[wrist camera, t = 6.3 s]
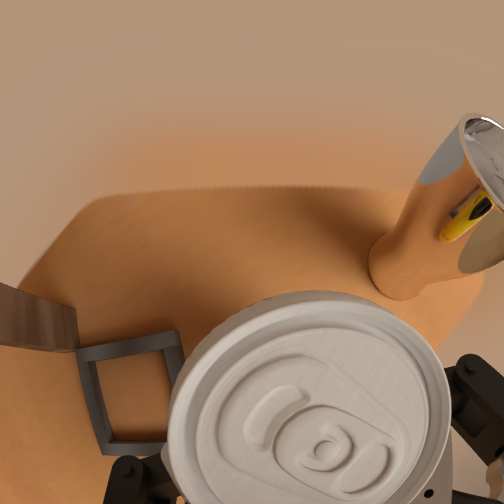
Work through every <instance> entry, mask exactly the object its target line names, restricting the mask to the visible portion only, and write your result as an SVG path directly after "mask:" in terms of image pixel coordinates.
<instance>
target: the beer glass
mask: <svg viewBox="0 0 504 504" xmlns="http://www.w3.org/2000/svg"><path fill="white" fill-rule="evenodd" d="M503 260H504V126H502V125H501V124H500V123H498V122H497V121H495V120H493V119H492V118H490V117H487V116H485V115H482V114H478V113H468V114H465V115H464V116H463V117H462V118H461V119H460V121H459V123H458V124H457V126H456V127H455V128H454V130H453V131H452V132H451V133H450V134H449V136H448V137H447V138H446V140H445V141H444V142H443V143H442V144H441V146H440V147H439V148H438V149H437V151H436V152H435V153H434V155H433V156H432V157H431V159H430V160H429V161H428V163H427V164H426V166H425V167H424V169H423V170H422V172H421V174H420V175H419V177H418V178H417V180H416V182H415V184H414V186H413V188H412V190H411V192H410V194H409V196H408V198H407V200H406V203H405V205H404V207H403V210H402V212H401V214H400V217H399V219H398V221H397V223H396V225H395V227H394V228H393V229H392V230H391V231H389V232H388V233H386V234H384V235H383V236H381V237H380V238H379V239H378V240H377V241H376V242H375V243H374V244H373V246H372V248H371V250H370V253H369V258H368V268H369V273H370V276H371V279H372V281H373V283H374V284H375V286H376V287H377V288H378V290H379V291H380V292H381V293H383V294H384V295H385V296H387V297H389V298H391V299H394V300H399V301H404V300H409V299H412V298H414V297H416V296H417V295H419V294H420V293H421V292H422V291H423V290H424V289H425V288H426V287H427V286H428V285H430V284H432V283H436V282H442V281H448V280H453V279H459V278H463V277H467V276H470V275H474V274H477V273H480V272H482V271H484V270H486V269H488V268H491V267H492V266H495V265H496V264H498V263H499V262H501V261H503Z"/></svg>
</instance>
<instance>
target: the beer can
mask: <svg viewBox="0 0 504 504" xmlns="http://www.w3.org/2000/svg"><path fill="white" fill-rule="evenodd" d="M450 422H451V396H450V389H449V384H448V381H447V377H446V374H445V371H444V369H443V366H442V364H441V362H440V360H439V358H438V357H437V355H436V353H435V352H434V350H433V348H432V347H431V346H430V345H429V343H428V342H427V341H426V340H425V338H424V337H423V336H422V335H421V334H419V333H418V332H417V331H416V330H415V329H414V328H413V327H412V326H410V325H409V324H407V323H406V322H405V321H403V320H402V319H400V318H398V317H397V316H395V315H394V314H393V313H391V312H390V311H388V310H387V309H385V308H383V307H381V306H380V305H378V304H376V303H374V302H371V301H369V300H366V299H364V298H361V297H358V296H354V295H350V294H346V293H340V292H333V291H315V290H312V291H300V292H292V293H287V294H282V295H278V296H274V297H271V298H268V299H264V300H262V301H259V302H257V303H255V304H252V305H250V306H247V307H246V308H244V309H242V310H240V311H238V312H237V313H235V314H233V315H231V316H230V317H229V318H227V319H226V320H224V321H223V322H222V323H220V324H219V325H217V326H216V327H215V328H214V329H213V330H212V331H211V332H210V333H208V334H207V335H206V336H205V337H204V338H203V340H202V341H201V342H200V343H199V344H198V345H197V346H196V347H195V348H194V350H193V351H192V353H191V354H190V356H189V357H188V358H187V360H186V361H185V363H184V365H183V367H182V369H181V370H180V372H179V374H178V376H177V379H176V382H175V384H174V387H173V389H172V393H171V397H170V402H169V408H168V417H167V425H168V432H167V445H168V455H169V460H170V465H171V468H172V471H173V474H174V477H175V479H176V481H177V483H178V485H179V487H180V489H181V491H182V493H183V494H184V495H185V497H186V498H187V500H188V501H189V503H190V504H409V503H410V502H411V501H412V500H413V499H414V498H415V497H416V496H417V495H418V494H419V492H420V491H421V490H422V489H423V487H424V486H425V485H426V483H427V482H428V480H429V479H430V477H431V476H432V474H433V472H434V471H435V469H436V467H437V465H438V463H439V461H440V459H441V457H442V454H443V451H444V449H445V446H446V443H447V439H448V434H449V430H450Z"/></svg>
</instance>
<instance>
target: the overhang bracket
mask: <svg viewBox="0 0 504 504" xmlns="http://www.w3.org/2000/svg"><path fill="white" fill-rule="evenodd" d="M0 345H6V346H12V347H18V348H25V349H32V350H40V351H49V352H58V353H67V352H74V351H76V356H77V362H78V367H79V372H80V377H81V382H82V387H83V391H84V395H85V399H86V403H87V407H88V411H89V415H90V418H91V422H92V425H93V428H94V432H95V435H96V438H97V441H98V444H99V447H100V450H101V453H102V455H110V456H124V455H133V456H152V455H154V454H157V453H159V452H160V451H161V450H162V447H163V446H164V444H165V443H166V442H167V439H154V440H126V441H115V438H114V435H113V432H112V429H111V426H110V422H109V419H108V415H107V412H106V408H105V404H104V401H103V397H102V393H101V388H100V384H99V380H98V375H97V370H96V365H95V361H100V360H106V359H113V358H119V357H125V356H130V355H136V354H141V353H147V352H152V351H157V350H162V349H163V352H164V356H165V360H166V365H167V369H168V373H169V377H170V381H171V384H172V388H173V385H174V383H175V381H176V379H177V376H178V374H179V372H180V370H181V369H182V367H183V365H184V363H185V357H184V353H183V349H182V345H181V340H180V336H179V331H177V330H170V331H166V332H161V333H157V334H152V335H148V336H143V337H138V338H133V339H128V340H123V341H118V342H113V343H108V344H103V345H97V346H91V347H86V348H80V342H79V335H78V327H77V318H76V309H73V308H70V307H67V306H64V305H61V304H57V303H54V302H51V301H49V300H46V299H43V298H40V297H37V296H34V295H31V294H29V293H26V292H23V291H21V290H18V289H16V288H13V287H10V286H8V285H5V284H3V283H0Z"/></svg>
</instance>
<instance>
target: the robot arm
mask: <svg viewBox="0 0 504 504" xmlns="http://www.w3.org/2000/svg"><path fill="white" fill-rule="evenodd" d="M444 371H445V374H446V377H447V381H448V384H449V389H450V396H451V422H450V425H451V426H452V427H453V428H454V429H455V430H456V431H457V432H458V433H459V435H461V437H462V438H463V439H464V440H465V441H466V442H467V444H468V445H469V446H470V447H471V448H472V449H473V450H474V451H475V452H476V454H477V455H478V456H479V457H480V458H481V459H482V461H483V462H484V463H485V464H486V465H487V466H488V468H487V472H486V483H488V484H489V486H490V496H489V498H486V497H481V496H476V495H472V494H468V493H463V492H460V491H456V490H453V489H452V441H451V429H450V430H449V434H448V439H447V443H446V446H445V449H444V451H443V454H442V457H441V459H440V461H439V463H438V465H437V467H436V469H435V471H434V472H433V474H432V476H431V477H430V479H429V480H428V482H427V483H426V485H425V486H424V487H423V489H422V490H421V491H420V492H419V494H418V495H417V496H416V497H415V498H414V499H413V500H412V501H411V502H410V503H409V504H504V377H503V376H502V375H501V374H500V373H499V372H497V371H496V370H495V369H494V368H493V367H492V366H491V365H489V364H488V363H487V362H486V361H485V360H483V359H482V358H481V357H480V356H477V355H475V354H466V355H464V356H462V357H460V359H459V360H458V361H457V364H456V366H452V367H448V368H444ZM175 382H176V381H175ZM174 384H175V383H174ZM173 387H174V385H173ZM178 496H182V497H183V499H184V501H185V504H190V503H189V501H188V500H187V498H186V497H185V495H184V494H183V493H182V491H181V489H180V487H179V485H178V483H177V481H176V479H175V477H174V474H173V471H172V468H171V465H170V460H169V455H168V445H167V442H166V443H165V444H164V446H163V447H162V450H161V451H160V452H159V453H157V454H154V455H152V456H149V457H146V458H143V459H138V458H137V457H135V456H133V455H124V456H121V457H120V458H118V459H117V460H116V461H115V462H114V464H113V466H112V470H111V473H110V477H109V481H108V485H107V489H106V493H105V497H104V501H103V504H176V500H177V497H178Z"/></svg>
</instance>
